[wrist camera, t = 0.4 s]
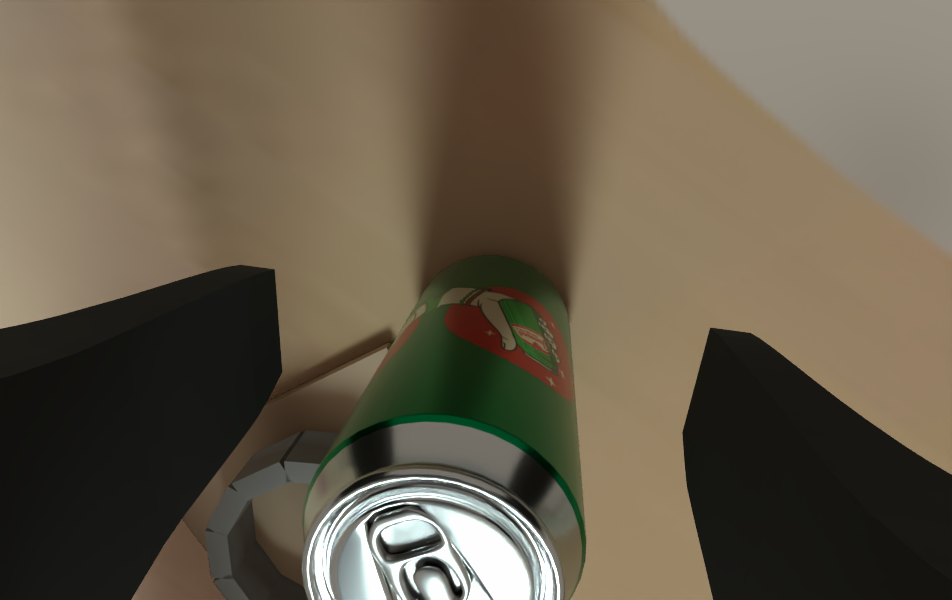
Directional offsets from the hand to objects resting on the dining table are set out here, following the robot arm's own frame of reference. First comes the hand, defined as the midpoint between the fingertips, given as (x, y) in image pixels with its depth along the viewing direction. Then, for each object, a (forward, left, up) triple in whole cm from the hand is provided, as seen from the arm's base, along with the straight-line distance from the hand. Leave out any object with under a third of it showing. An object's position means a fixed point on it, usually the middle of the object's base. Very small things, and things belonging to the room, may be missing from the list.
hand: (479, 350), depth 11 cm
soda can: (-2, -3, -11) cm, 11 cm away
